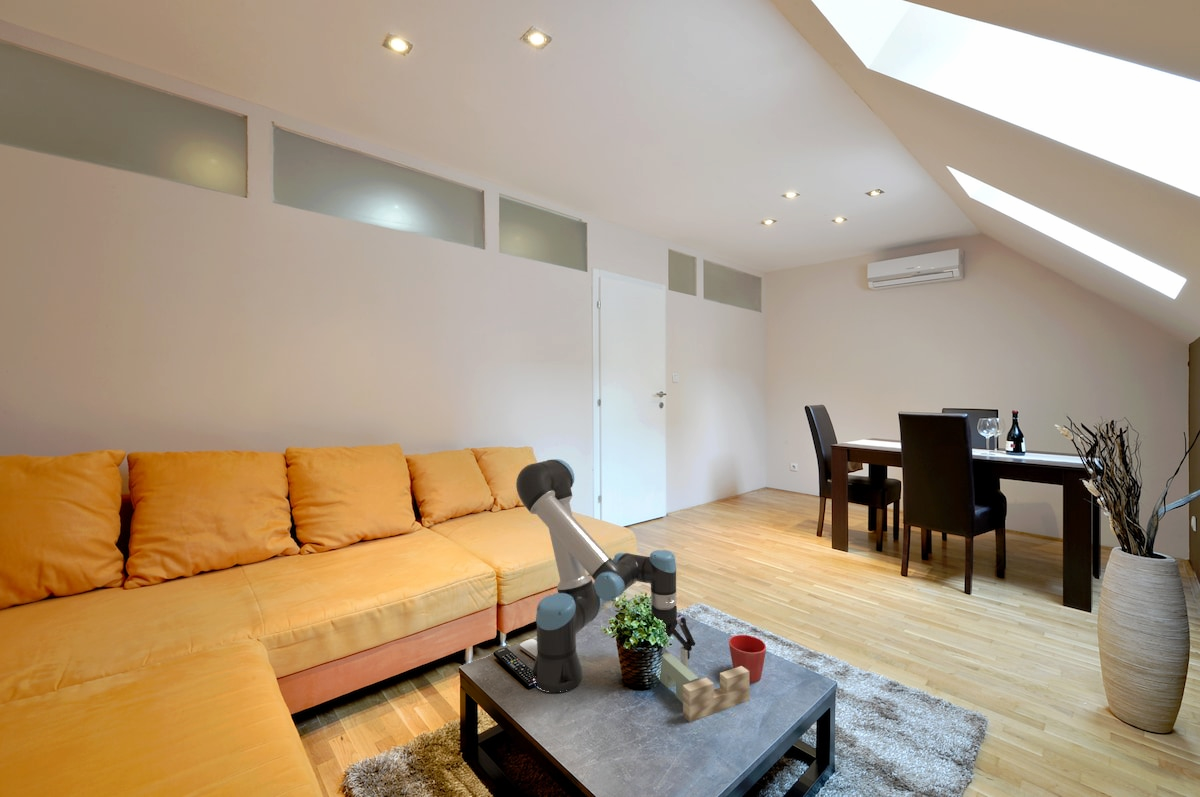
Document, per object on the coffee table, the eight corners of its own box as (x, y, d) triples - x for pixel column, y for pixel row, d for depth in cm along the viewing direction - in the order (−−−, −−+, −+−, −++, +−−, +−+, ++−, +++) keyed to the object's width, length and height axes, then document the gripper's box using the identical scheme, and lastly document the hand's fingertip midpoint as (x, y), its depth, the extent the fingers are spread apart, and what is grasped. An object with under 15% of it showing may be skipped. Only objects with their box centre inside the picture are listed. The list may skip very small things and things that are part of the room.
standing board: (690, 722, 124) (689, 691, 124) (683, 715, 127) (682, 685, 127) (749, 700, 133) (749, 671, 133) (742, 694, 136) (741, 665, 136)
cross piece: (699, 707, 130) (698, 677, 130) (690, 710, 129) (689, 680, 129) (663, 673, 147) (662, 646, 147) (654, 675, 145) (654, 649, 145)
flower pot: (761, 665, 150) (761, 634, 150) (770, 687, 139) (769, 653, 139) (726, 664, 151) (726, 633, 151) (732, 685, 140) (732, 652, 140)
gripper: (633, 619, 134) (634, 695, 134) (705, 601, 145) (707, 671, 145) (620, 608, 141) (622, 680, 141) (691, 592, 151) (692, 659, 152)
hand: (665, 676), depth 143 cm, fingers open, 13 cm apart
